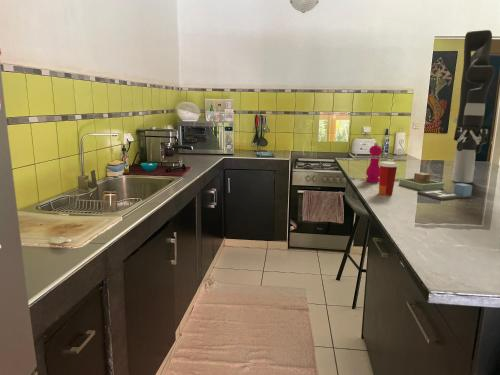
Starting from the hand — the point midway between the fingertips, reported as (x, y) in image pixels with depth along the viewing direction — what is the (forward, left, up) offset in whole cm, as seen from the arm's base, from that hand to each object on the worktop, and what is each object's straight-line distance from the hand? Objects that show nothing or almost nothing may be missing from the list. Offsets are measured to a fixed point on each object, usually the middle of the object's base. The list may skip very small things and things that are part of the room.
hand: (468, 152), depth 170 cm
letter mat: (+11, -2, -19) cm, 22 cm away
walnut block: (+4, -19, -19) cm, 27 cm away
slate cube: (0, 0, -20) cm, 20 cm away
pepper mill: (+18, -37, -20) cm, 46 cm away
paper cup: (+32, -13, -20) cm, 40 cm away
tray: (+4, -19, -19) cm, 28 cm away
